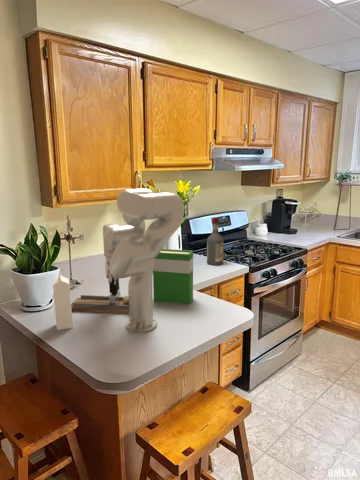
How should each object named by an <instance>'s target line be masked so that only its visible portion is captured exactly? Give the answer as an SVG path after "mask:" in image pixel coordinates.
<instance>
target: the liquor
mask: <svg viewBox="0 0 360 480" xmlns="http://www.w3.org/2000/svg"><path fill="white" fill-rule="evenodd" d="M219 221H220V220H219V217H212V232H211V234H210V235H208V237H207V239H206V263H207V265H209V266H213V267H214V266H217V267H218V266H221V265H223V263H224V243H225V242H224V241H225V240H224V238H223V236H222V235H221V234H220V233H219Z"/></svg>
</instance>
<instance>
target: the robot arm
mask: <svg viewBox="0 0 360 480" xmlns="http://www.w3.org/2000/svg"><path fill="white" fill-rule="evenodd" d="M116 206H117V209H118V211H119V212H120V213H122V218H123V221H124V222H125V223H126V224H125V225H119V224H118V223H107V224H104V225H103V226H102V239H103V256H104V257H105V278H106V279H107V283H108V285H109V287H108V289H109V293H110V294H111V293H117V286H118V290H120V279H126V278H129V277H130V278H129V280H128V283H127V284H128V285H127V286H128V288H127V291H128V296H129V313H128V314H129V315H128V316H129V319H128V320H126V322H125V328H126V329H127V330H129V331H131V332H134V333H146V332H150V331H152V330H154V329H155V328H157V325H158V321H157V319H156V318H154V312H153V311H154V308H153V306H154V305H153V303H154V296H153V269H154V258H155V257H156V256H157V255H158V254H159V253H160V251H161V250H162V249H164V247H165V246H166V244H167V243H168V242H169V240H170V238H171V237H173V235H174V234H175V233H176V231H178V229H179V228H180V225H181V224H182V223H183V219H184V214H185V205H184V202H183V199H182V198H181V197H180V195H178V194H175V193H174V192H173V193H172V192H157V193H156V192H154V191H153V190H151V189H149V188H132V189H131V188H129V189H123V190H122V191H121V192H119V194H118V195H117V199H116ZM149 220H154V221H152V222H151V223H150V224H149V225H148V226H147V228H146V221H149ZM112 277H113V278H112ZM112 279H113V280H114V281H113V280H112ZM116 279H117V284H116Z"/></svg>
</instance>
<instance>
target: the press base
mask: <svg viewBox="0 0 360 480" xmlns="http://www.w3.org/2000/svg"><path fill="white" fill-rule="evenodd" d="M120 297H121V301H120V302H119V303H118V305H116V304H109V295H87V294H81V295H80V297H77V298H76V299H75V300H74V301H73V302H71V310H72V311H73V312H75V311H76V312H94V313H114V314H115V313H117V314H129V304H128V305H125V304H124V303H123V301H122V300H123V297H124V296H120Z"/></svg>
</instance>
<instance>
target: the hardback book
mask: <svg viewBox="0 0 360 480" xmlns="http://www.w3.org/2000/svg"><path fill="white" fill-rule="evenodd" d="M152 291H153V302H162V303H163V302H165V303H172V304H183V305H191V303H192V301H193V299H194V250H189V249H188V250H187V249H172V248H171V249H170V248H168V249H167V248H163V249H162V250H161V251H160V253H159V254H158V255H157V256H156V257H155V258H154V269H153V275H152Z"/></svg>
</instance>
